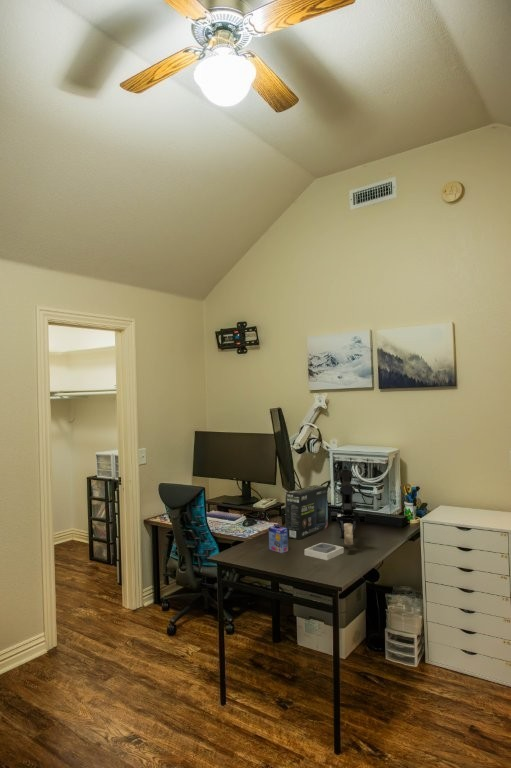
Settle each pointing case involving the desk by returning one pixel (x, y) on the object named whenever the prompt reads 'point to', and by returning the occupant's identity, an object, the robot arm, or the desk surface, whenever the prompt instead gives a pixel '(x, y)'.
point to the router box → (306, 511)
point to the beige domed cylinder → (348, 533)
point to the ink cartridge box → (278, 539)
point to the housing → (324, 551)
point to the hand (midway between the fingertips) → (348, 531)
